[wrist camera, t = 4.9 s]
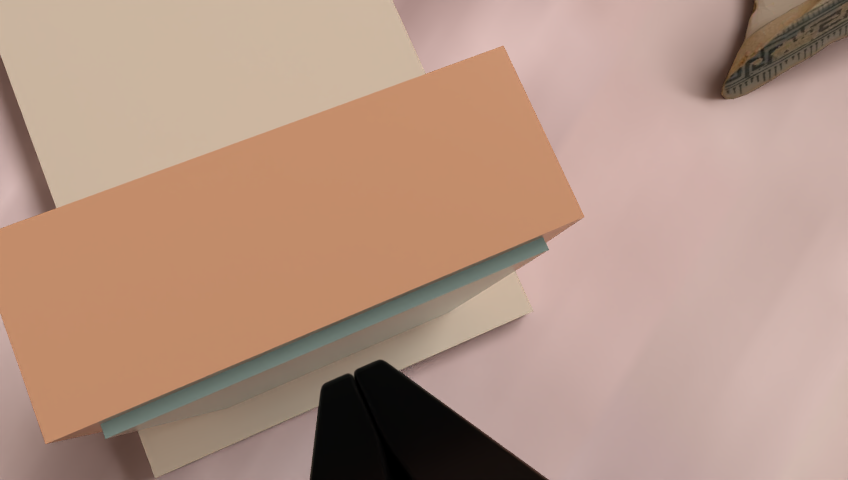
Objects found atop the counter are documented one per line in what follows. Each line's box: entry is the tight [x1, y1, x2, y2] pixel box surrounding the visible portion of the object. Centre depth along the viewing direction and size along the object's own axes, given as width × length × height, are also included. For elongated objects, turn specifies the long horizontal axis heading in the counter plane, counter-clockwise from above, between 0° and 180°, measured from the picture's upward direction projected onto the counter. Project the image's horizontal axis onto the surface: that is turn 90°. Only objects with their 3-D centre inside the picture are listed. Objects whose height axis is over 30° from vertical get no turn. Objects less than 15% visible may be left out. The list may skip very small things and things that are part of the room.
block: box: [0, 46, 584, 444], centre depth 12 cm, size 2×6×9 cm, turn 113°
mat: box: [0, 0, 533, 478], centre depth 17 cm, size 12×9×1 cm
